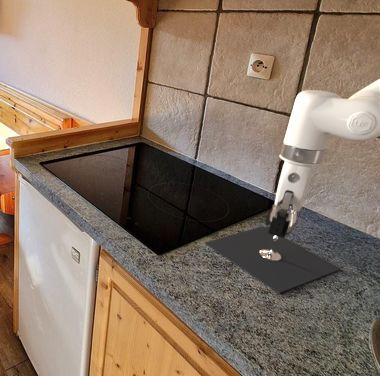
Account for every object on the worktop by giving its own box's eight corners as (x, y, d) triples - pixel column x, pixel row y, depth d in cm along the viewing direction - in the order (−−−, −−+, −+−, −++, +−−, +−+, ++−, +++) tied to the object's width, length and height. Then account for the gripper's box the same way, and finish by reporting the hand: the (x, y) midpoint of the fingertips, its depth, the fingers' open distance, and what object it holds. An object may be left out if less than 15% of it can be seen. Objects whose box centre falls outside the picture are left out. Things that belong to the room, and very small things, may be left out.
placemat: (340, 270, 89) (341, 268, 89) (279, 294, 81) (279, 292, 81) (262, 227, 105) (262, 225, 105) (204, 243, 97) (205, 242, 97)
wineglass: (262, 245, 96) (276, 200, 91) (288, 255, 93) (303, 209, 87) (252, 253, 93) (265, 207, 88) (278, 265, 89) (293, 217, 84)
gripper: (320, 170, 74) (294, 249, 81) (325, 145, 87) (302, 216, 94) (275, 161, 78) (253, 237, 85) (286, 139, 91) (267, 207, 98)
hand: (279, 226), depth 89 cm, fingers open, 9 cm apart
